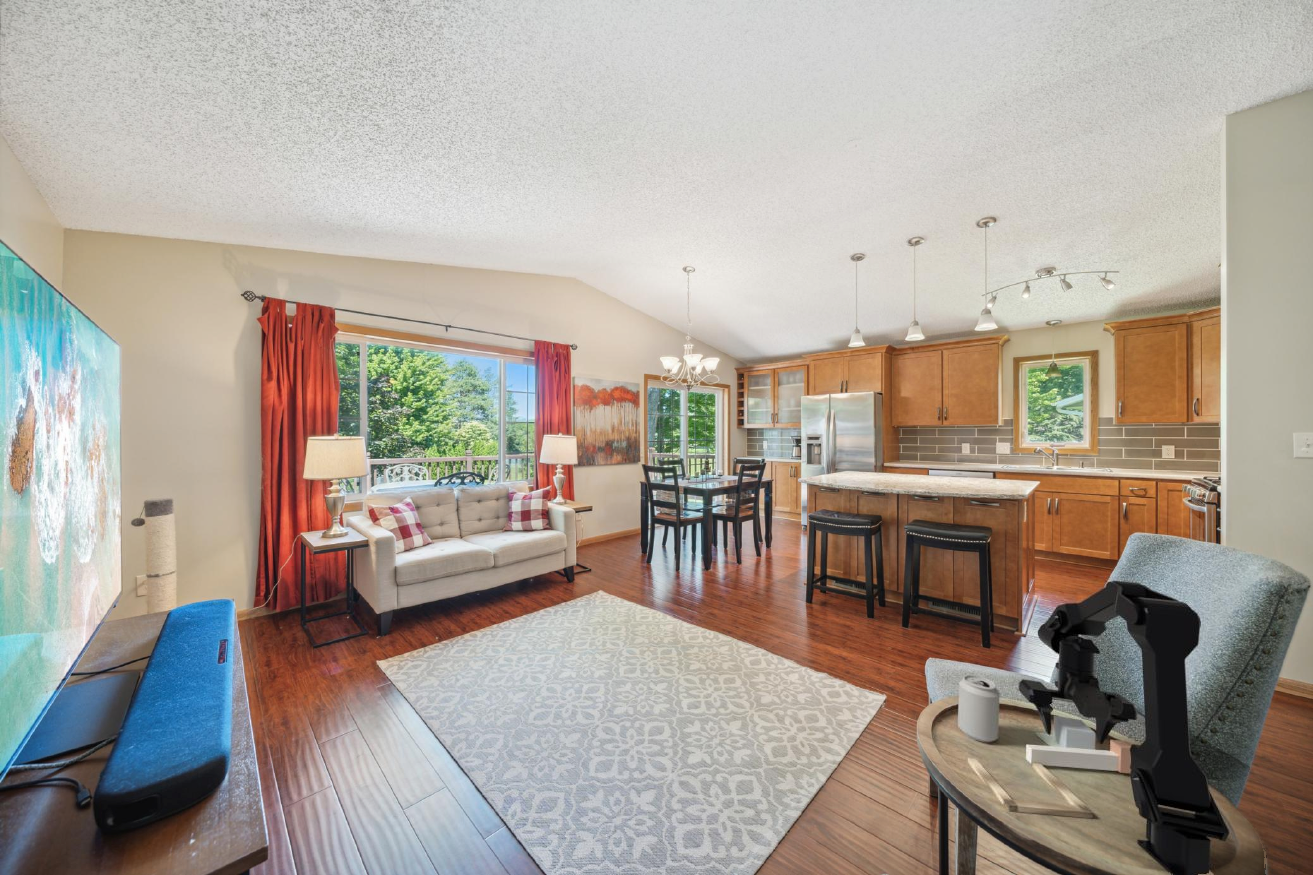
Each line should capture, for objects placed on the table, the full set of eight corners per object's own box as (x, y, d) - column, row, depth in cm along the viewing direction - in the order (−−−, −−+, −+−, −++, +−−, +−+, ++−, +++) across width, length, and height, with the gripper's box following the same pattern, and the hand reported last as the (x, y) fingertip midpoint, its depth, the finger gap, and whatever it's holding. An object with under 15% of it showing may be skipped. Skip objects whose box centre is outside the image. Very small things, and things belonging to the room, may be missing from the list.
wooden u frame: (1093, 818, 83) (1093, 812, 83) (1008, 811, 84) (1009, 805, 84) (1040, 768, 95) (1040, 763, 95) (967, 762, 96) (967, 757, 96)
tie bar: (1136, 773, 94) (1137, 748, 94) (1032, 765, 95) (1033, 740, 95) (1125, 765, 96) (1126, 740, 96) (1024, 757, 98) (1025, 733, 98)
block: (1080, 742, 103) (1081, 719, 104) (1094, 757, 99) (1095, 733, 99) (1053, 738, 105) (1054, 715, 105) (1065, 752, 100) (1066, 728, 100)
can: (1004, 747, 102) (1006, 691, 102) (966, 741, 103) (968, 686, 103) (988, 726, 109) (989, 674, 109) (952, 721, 110) (953, 670, 110)
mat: (1114, 765, 97) (1114, 763, 97) (1067, 761, 98) (1067, 759, 98) (1078, 737, 106) (1078, 735, 106) (1036, 734, 107) (1036, 732, 107)
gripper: (1043, 675, 97) (1041, 752, 97) (1158, 692, 91) (1155, 773, 91) (1018, 652, 107) (1016, 721, 107) (1120, 666, 102) (1117, 738, 102)
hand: (1073, 738), depth 102 cm, fingers open, 9 cm apart
